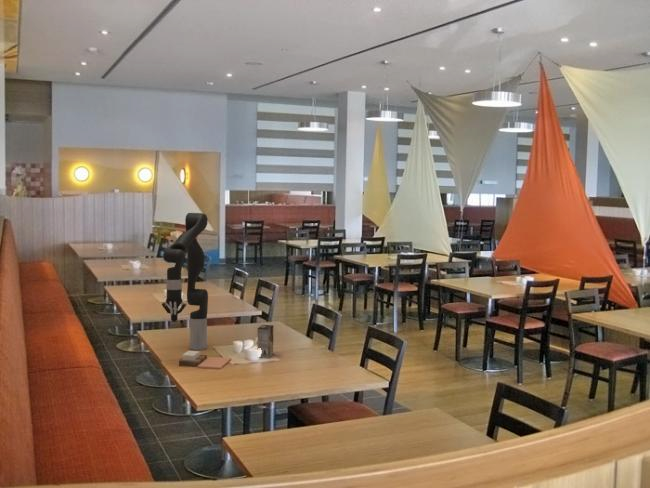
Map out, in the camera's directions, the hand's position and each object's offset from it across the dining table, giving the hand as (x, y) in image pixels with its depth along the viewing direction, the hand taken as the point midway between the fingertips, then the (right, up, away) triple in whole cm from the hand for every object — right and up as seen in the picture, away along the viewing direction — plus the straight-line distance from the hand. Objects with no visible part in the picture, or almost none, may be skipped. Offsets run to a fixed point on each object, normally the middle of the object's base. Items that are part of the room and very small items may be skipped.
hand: (174, 321), depth 351 cm
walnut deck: (+10, -21, +1) cm, 23 cm away
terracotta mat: (+21, -22, -1) cm, 30 cm away
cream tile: (+9, -19, 0) cm, 21 cm away
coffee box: (+45, -21, +17) cm, 52 cm away
